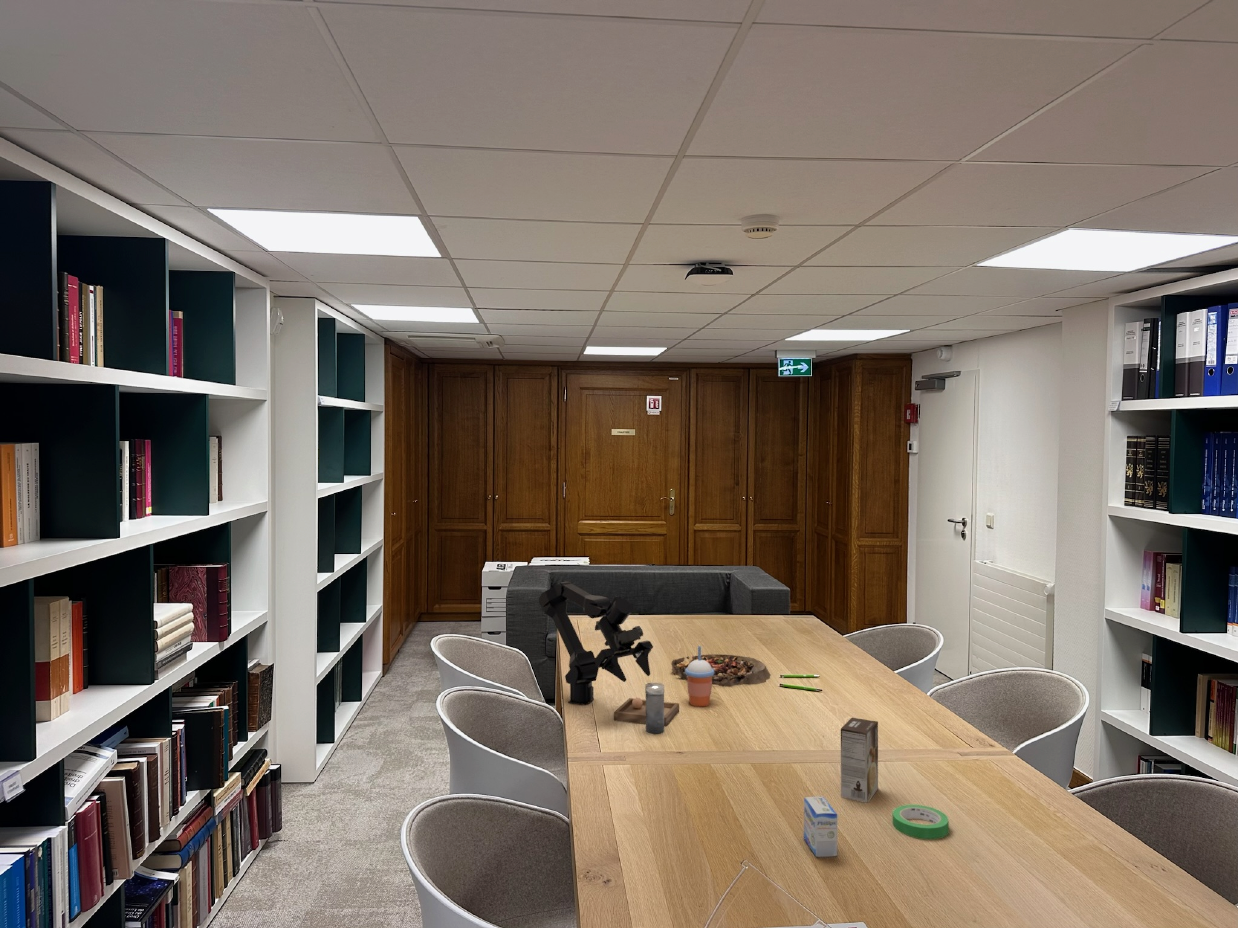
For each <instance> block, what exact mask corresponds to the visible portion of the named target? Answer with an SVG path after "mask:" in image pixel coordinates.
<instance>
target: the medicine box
mask: <svg viewBox="0 0 1238 928" xmlns="http://www.w3.org/2000/svg"><path fill="white" fill-rule="evenodd" d="M803 839H804V841H805V842H806V844H807V845H808V847H809V848H810V850H811V851H812V852H813V854H814V856H815V857H816V858H832V857H833V858H834V857H837V856H838V813H837V812H836V811H835V809H834V808H833V807H832V806H831V804H829V802H828V800H827V799H826V798H825V796H807V797H804V800H803Z"/></svg>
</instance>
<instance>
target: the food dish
mask: <svg viewBox="0 0 1238 928" xmlns="http://www.w3.org/2000/svg"><path fill="white" fill-rule="evenodd" d="M691 657H692V658H691V659H690V656H686V657H684V656H683V657H680V658H676V659H673V660H672V661H671V662H670V663H671V671H672V673H673V674H675V675H676V676H678V677H679V680H683V681H686V682H687V679H688V678H687V675H686V674H685V670H686V668H688V665H689V664H690V663H691V662H692V661H694V660H698V655H692V656H691ZM685 658H686V659H687V660H690V661H688V662H686V663H683V662H685ZM701 660H705V661H707V662H708V663H709V664H710V666H711V668H712V669H713V670H714V675H713V676H712V685H714V686H719V687H734V686H741V685H742V686H743V685H759V684H765V683H766V682H767V680H770V678H771V675H772V674H771V673H770V672H769V670H768V668H767V666H766V664H765V663H764V662H762V661H761V660H760V659H759V660H758V659H755V658H754V657H750V656H743V655H734V654H719V653H717V654H713V653H711V654H701Z"/></svg>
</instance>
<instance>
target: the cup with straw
mask: <svg viewBox="0 0 1238 928" xmlns="http://www.w3.org/2000/svg"><path fill="white" fill-rule="evenodd" d="M701 655H702V647H701V645H699V646H697V656H698V660H694V661H692V662H691V663H690V664H689V665H688V668H686V670H685V674H686V675H687V678H688V679H687V681H686V682H687V693H688V698H689V704H690V705H692V706H693V707H707V706H709V705H710V702H711V694H712V688H713V686H712V676H713V675H714V670H713V669H712V668H711V666H710V664H709V663H708V662H707V661H705V660H701Z"/></svg>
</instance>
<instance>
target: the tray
mask: <svg viewBox="0 0 1238 928" xmlns="http://www.w3.org/2000/svg"><path fill="white" fill-rule="evenodd" d="M633 699H634V697H633V698H632V697H629V698H628V699H627V700H625V701H624V703H622V704H621V705H620V706H619V707H618V708H616V710H614V711H613V720H614V722H615V721H616V722H625V723H634V724H641V725H642V724H643V725H646V699H643V698H642V699H641V698H640V699H641V700H642V702H643V704H642V707H641V708H638V709H636V708H634V707H633V705H632V701H633ZM679 713H680V703H678V702H669V701H664V727H667V726H668V725H669V724H670V723H671V722H672V720H674V718H676V716H677V715H678V714H679Z"/></svg>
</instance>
